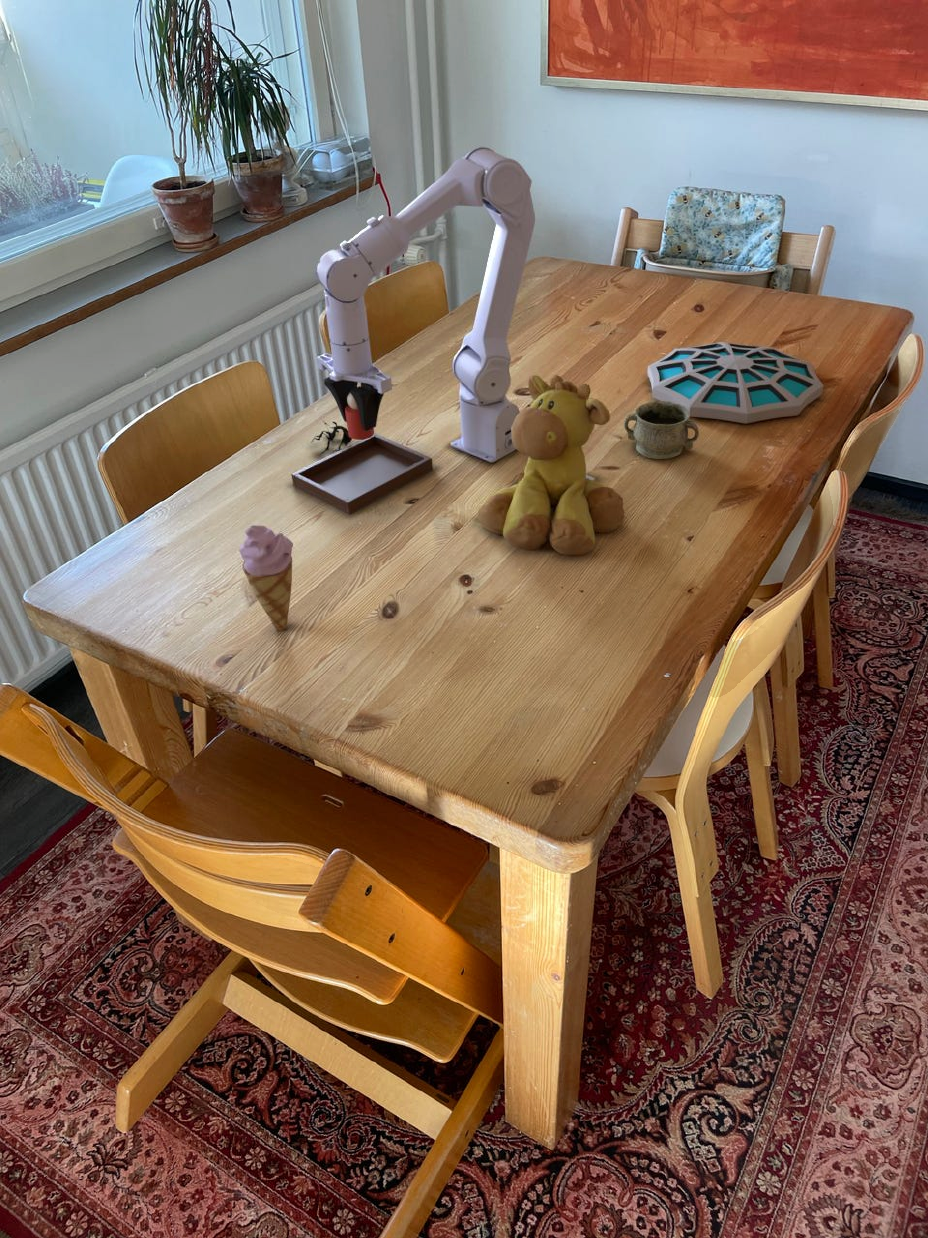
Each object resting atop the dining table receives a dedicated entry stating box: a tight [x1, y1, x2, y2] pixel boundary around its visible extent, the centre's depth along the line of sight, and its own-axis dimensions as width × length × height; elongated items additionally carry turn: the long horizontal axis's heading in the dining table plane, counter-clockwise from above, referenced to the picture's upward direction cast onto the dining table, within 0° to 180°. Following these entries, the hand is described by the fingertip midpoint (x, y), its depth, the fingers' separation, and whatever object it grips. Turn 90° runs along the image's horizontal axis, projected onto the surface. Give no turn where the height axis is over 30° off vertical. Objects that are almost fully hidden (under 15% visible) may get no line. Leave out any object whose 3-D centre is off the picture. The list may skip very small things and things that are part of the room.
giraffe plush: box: [477, 374, 626, 556], centre depth 132 cm, size 20×24×19 cm
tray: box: [290, 432, 434, 515], centre depth 148 cm, size 14×18×2 cm
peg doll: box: [345, 393, 375, 441], centre depth 143 cm, size 4×4×7 cm
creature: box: [310, 419, 353, 457], centre depth 156 cm, size 8×5×8 cm
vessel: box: [623, 400, 700, 460], centre depth 150 cm, size 12×9×6 cm
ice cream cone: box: [238, 525, 294, 632], centre depth 115 cm, size 7×6×15 cm
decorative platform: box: [646, 341, 824, 425], centre depth 167 cm, size 31×29×5 cm
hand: (360, 423), depth 145 cm, fingers closed on peg doll, 4 cm apart
